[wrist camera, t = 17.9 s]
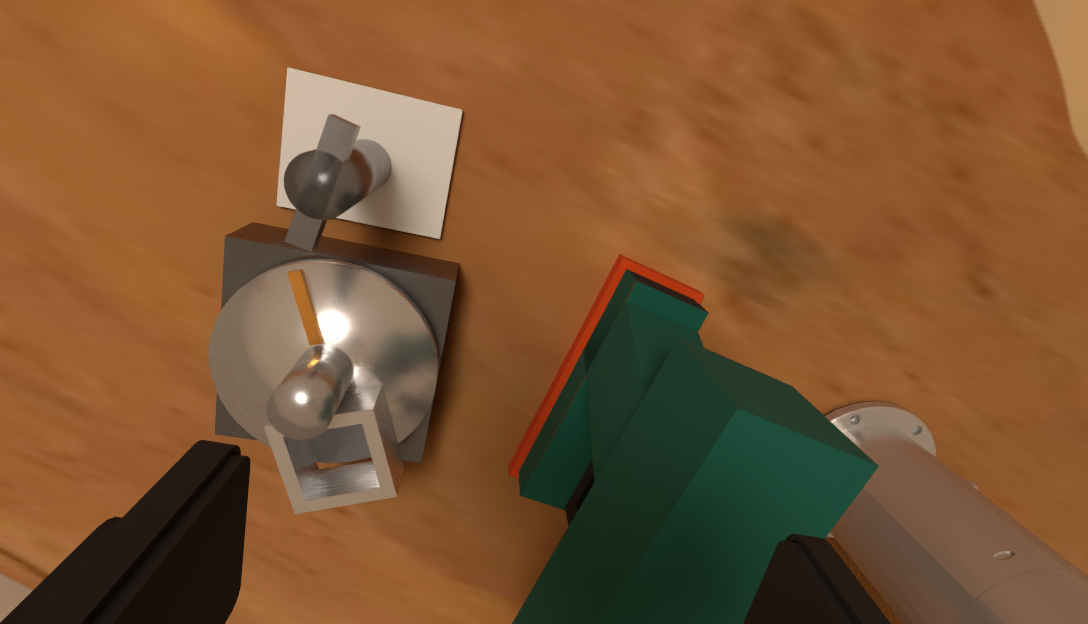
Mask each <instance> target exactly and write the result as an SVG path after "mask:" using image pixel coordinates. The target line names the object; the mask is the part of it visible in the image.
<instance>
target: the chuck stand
mask: <svg viewBox="0 0 1088 624" xmlns="http://www.w3.org/2000/svg"><path fill="white" fill-rule="evenodd" d="M288 230H289V229H284V228H279V227H274V226H269V225H264V224H259V223H254V222H253V223H251V224H249V225H247V226H245V227H243V228H241V229H239V230H237V231H234V232H232V233H230V234H228V235H226V236H225V247H224V267H223V286H222V306H221V310H222V308H223V307H224V306H225V304H226V303H227V302H228V300H229V299H230V298H231V297H232V296H233V295H234V294H235V293H236V292H237V291H238V290H239V289H240V288H241V287H243V286H244V285H245V284H247V283H248V282H250V281H251V280H252V279H254V278H255V277H256V276H258V275H259V274H261V273H263V272H265V271H267V270H269V269H271V268H273V267H276V266H279V265H282V264H285V263H289V262H293V261H298V260H306V259H332V260H339V261H345V262H349V263H352V264H356V265H359V266H362V267H365V268H367V269H370V270H372V271H374V272H376V273H378V274H380V275H382V276H383V277H385V278H387V279H389V280H390V281H391V282H393V283H394V284H395V285H397V286H398V287H400V288H401V289H402V290H403V291H404V292H405V293H406V294H407V295H408V296H409V297H410V298H411V299H412V300H413V301H414V302H415V304H416V305H417V306H418V307H419V308H420V310H421V311H422V313H423V315H424V316H425V318H426V319H427V321H428V323H429V326H430V328H431V330H432V332H433V335H434V339H435V342H436V345H437V352H438V373H439V368H440V362H441V357H442V352H443V347H444V341H445V336H446V331H447V326H448V320H449V315H450V310H451V304H452V299H453V294H454V289H455V283H456V278H457V273H458V267H459V263H455V262H450V261H445V260H439V259H434V258H429V257H424V256H419V255H414V254H409V253H404V252H399V251H394V250H389V249H384V248H379V247H374V246H369V245H364V244H359V243H354V242H349V241H344V240H339V239H334V238H329V237H324V236H321V238H320V241H319V244H318V246H317V248H315V249H314V250H313V251H312V252H310V251H307V250H305V249H302V248H300V247H297V246H295V245H292V244H290V243H288V242H285V239H286V236H287V233H288ZM437 378H438V377H437ZM434 394H435V393H434ZM433 399H434V396H433ZM433 399H432V402H431V404H430V406H429V409H428V411H427V413H426V414H425V416H424V417H423V419H422V420H421V422H420V423H419V425H418V426H417V427H416V428H415V429H414V430H413V431H412V432H411V433H410V434H409V435H408V436H407V437H406V438H405V439H403V440H402V441H401V442H399V443H398V445H399V449H400V453H401V457H402V460H404V461H411V462H418V463H421V462H422V457H423V452H424V447H425V441H426V436H427V431H428V426H429V420H430V415H431V410H432V404H433ZM215 434H217V435H224V436H231V437H238V438H245V439H253V440H257V439H256V438H255V437H253V436H252V435H251V434H249V433H248V432H247V431H246V430H245V429H244V428H243V427H241V426H240V425H239V424H238V423H237V422H236V420H235V419H234V418H233V417H232V416H231V414H230V413H229V412H228V411H227V409H226V407H225V406H224V404H223V403H222V401H221V400H220V397H219V395H218V393H217V403H216V422H215Z"/></svg>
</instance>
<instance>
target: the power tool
mask: <svg viewBox="0 0 1088 624" xmlns="http://www.w3.org/2000/svg"><path fill="white" fill-rule="evenodd" d="M704 296H705V295H703V294H702V293H701V292H700V291H698V290H696V289H694V288H692V287H690V286H688V285H685V284H683V283H681V282H679V281H677V280H675V279H672V278H670V277H668V276H666V275H664V274H661V273H659V272H657V271H655V270H653V269H651V268H648V267H646V266H644V265H642V264H640V263H638V262H635V261H633V260H631V259H629V258H627V257H624V256H622V255H620V254H619V256H618V258H617V260H616V262H615V264H614V266H613V268H612V270H611V272H610V274H609V276H608V277H607V279H606V281H605V283H604V285H603V287H602V289H601V291H600V293H599V295H598V297H597V298H596V300H595V302H594V304H593V306H592V308H591V310H590V312H589V314H588V316H587V318H586V319H585V321H584V323H583V325H582V327H581V329H580V331H579V333H578V335H577V337H576V339H575V341H574V342H573V344H572V346H571V348H570V350H569V352H568V354H567V356H566V358H565V360H564V362H563V363H562V365H561V367H560V369H559V371H558V373H557V375H556V377H555V379H554V381H553V383H552V384H551V386H550V388H549V390H548V392H547V394H546V396H545V398H544V400H543V402H542V404H541V406H540V407H539V409H538V411H537V413H536V415H535V417H534V419H533V421H532V423H531V425H530V427H529V428H528V430H527V432H526V434H525V436H524V438H523V440H522V442H521V444H520V446H519V448H518V449H517V451H516V453H515V455H514V457H513V459H512V461H511V463H510V465H509V467H508V469H509V476H512V477H515V478H518V479H519V485H520V495H521V496H524V497H527V498H530V499H533V500H536V501H539V502H542V503H545V504H548V505H551V506H554V507H557V508H560V509H563V510H566V515H567V520H568V525H569V527H568V529H567V530H566V532H565V534H564V536H563V537H562V539H561V541H560V543H559V544H558V546H557V548H556V549H555V551H554V553H553V555H552V556H551V558H550V560H549V561H548V563H547V565H546V567H545V568H544V570H543V572H542V573H541V575H540V577H539V579H538V580H537V582H536V584H535V585H534V587H533V589H532V591H531V592H530V594H529V596H528V598H527V599H526V601H525V603H524V604H523V606H522V608H521V610H520V611H519V613H518V615H517V616H516V618H515V620H514V622H513V623H512V624H743V622H744V620H745V618H746V615H747V613H748V611H749V608H750V606H751V604H752V601H753V599H754V597H755V594H756V592H757V590H758V588H759V585H760V583H761V581H762V578H763V576H764V574H765V571H766V569H767V567H768V564H769V562H770V560H771V557H772V555H773V553H774V550H775V548H776V546H777V544H778V543H779V542H780V541H783V540H785V539H786V538H787V537H788V536H789V535H790V534H800V535H806V536H812V537H819V538H823V539H825V538H826V537H827V535H828V534H829V533H830V531H831V530H832V529H833V527H834V526H835V525H836V523H837V522H838V521H839V519H840V518H841V517H842V515H843V514H844V513H845V511H846V510H847V509H848V507H849V506H850V505H851V503H852V502H853V501H854V499H855V498H856V497H857V495H858V494H859V493H860V491H861V490H862V489H863V487H864V486H865V485H866V483H867V482H868V481H869V479H870V478H871V477H872V475H873V474H874V473H875V471H876V470H877V469H878V467H879V466H878V465H877V464H876V463H875V462H874V461H873V460H872V459H871V458H870V457H868V456H867V455H866V454H865V453H864V452H863V451H862V450H861V449H860V448H859V447H858V446H857V445H855V444H854V443H853V442H852V441H851V440H850V439H849V438H848V437H847V436H846V435H845V434H843V433H842V432H841V431H840V430H839V429H838V428H837V427H836V426H835V425H834V424H833V423H831V422H830V421H829V420H828V419H827V418H826V417H825V416H824V415H823V414H822V413H821V412H820V411H818V410H817V409H816V408H815V407H814V406H813V405H812V404H811V403H810V402H809V401H808V400H806V399H805V398H804V397H803V396H802V395H801V394H800V393H799V392H798V391H797V390H796V389H794V388H793V387H792V386H790V385H788V384H786V383H783V382H781V381H779V380H777V379H774V378H772V377H770V376H767V375H765V374H763V373H760V372H758V371H756V370H753V369H751V368H749V367H746V366H744V365H742V364H740V363H737V362H735V361H733V360H730V359H728V358H726V357H723V356H721V355H719V354H716V353H714V352H712V351H710V350H707V349H705V348H704V347H703V345H702V342H701V339H700V337H699V334H698V330H699V329H700V327H701V325H702V324H703V322H704V320H705V319H706V317H707V315H708V312H707V311H706V310H705V309H704V308H703V307H702V306H701V305H700V303H701V301H702V300H703V298H704Z"/></svg>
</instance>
